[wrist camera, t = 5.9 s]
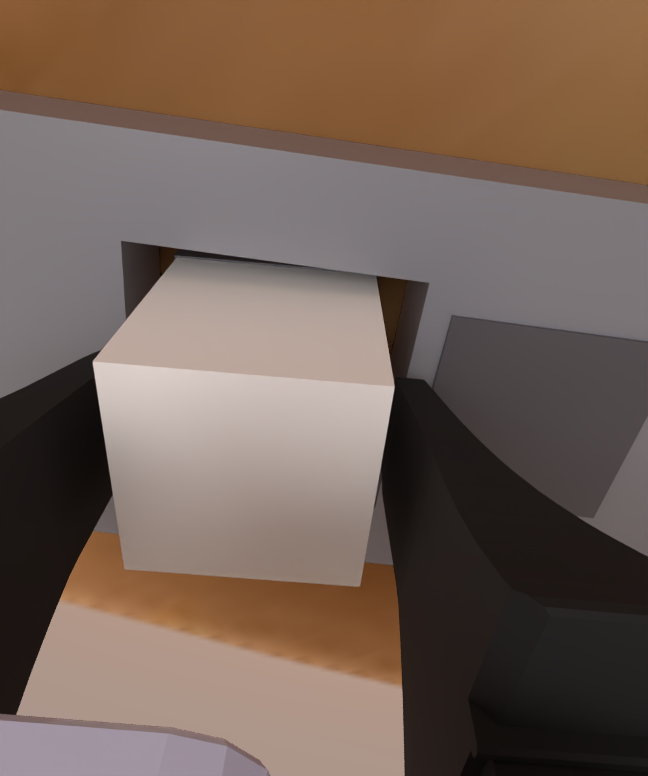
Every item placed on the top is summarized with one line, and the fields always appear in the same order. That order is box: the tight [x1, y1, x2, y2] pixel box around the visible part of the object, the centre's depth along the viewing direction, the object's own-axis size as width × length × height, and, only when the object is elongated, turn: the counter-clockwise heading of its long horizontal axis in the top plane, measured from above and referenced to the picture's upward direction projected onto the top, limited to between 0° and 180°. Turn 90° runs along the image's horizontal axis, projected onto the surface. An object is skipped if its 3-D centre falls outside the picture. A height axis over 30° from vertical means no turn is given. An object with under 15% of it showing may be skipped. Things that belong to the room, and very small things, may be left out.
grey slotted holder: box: [0, 90, 648, 565], centre depth 13 cm, size 20×10×4 cm, turn 83°
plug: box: [93, 249, 395, 587], centre depth 12 cm, size 4×4×6 cm
